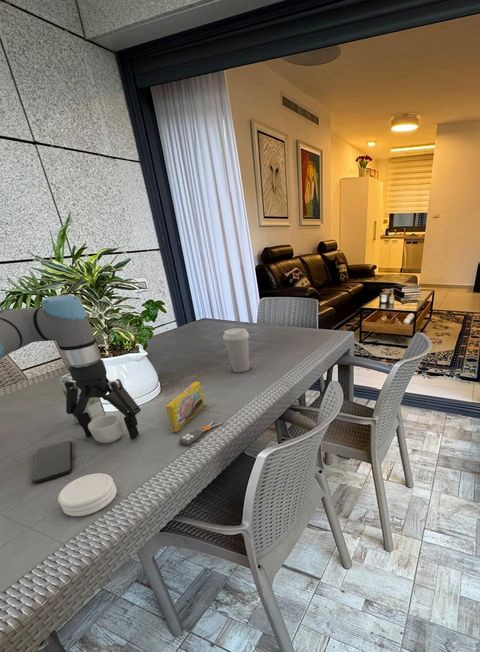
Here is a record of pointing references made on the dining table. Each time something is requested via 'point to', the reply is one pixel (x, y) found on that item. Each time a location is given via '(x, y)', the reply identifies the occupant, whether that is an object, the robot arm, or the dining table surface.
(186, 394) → the candy box
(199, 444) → the dining table surface
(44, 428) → the dining table surface
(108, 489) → the coaster
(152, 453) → the dining table surface
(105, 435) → the teacup
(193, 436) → the key chain
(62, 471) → the smartphone
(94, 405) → the syrup box
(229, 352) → the coffee cup
